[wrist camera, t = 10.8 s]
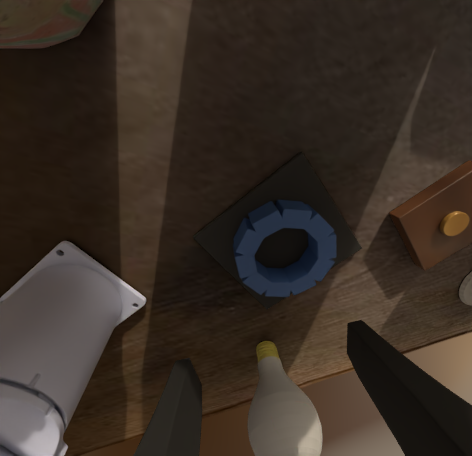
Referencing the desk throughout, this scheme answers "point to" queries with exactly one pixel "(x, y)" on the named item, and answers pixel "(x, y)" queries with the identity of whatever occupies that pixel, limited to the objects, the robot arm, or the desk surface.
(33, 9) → the potted plant
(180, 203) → the desk surface
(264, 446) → the light bulb
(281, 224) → the ring
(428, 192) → the platform
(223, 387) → the desk surface
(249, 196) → the mat
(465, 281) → the figurine
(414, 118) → the desk surface
